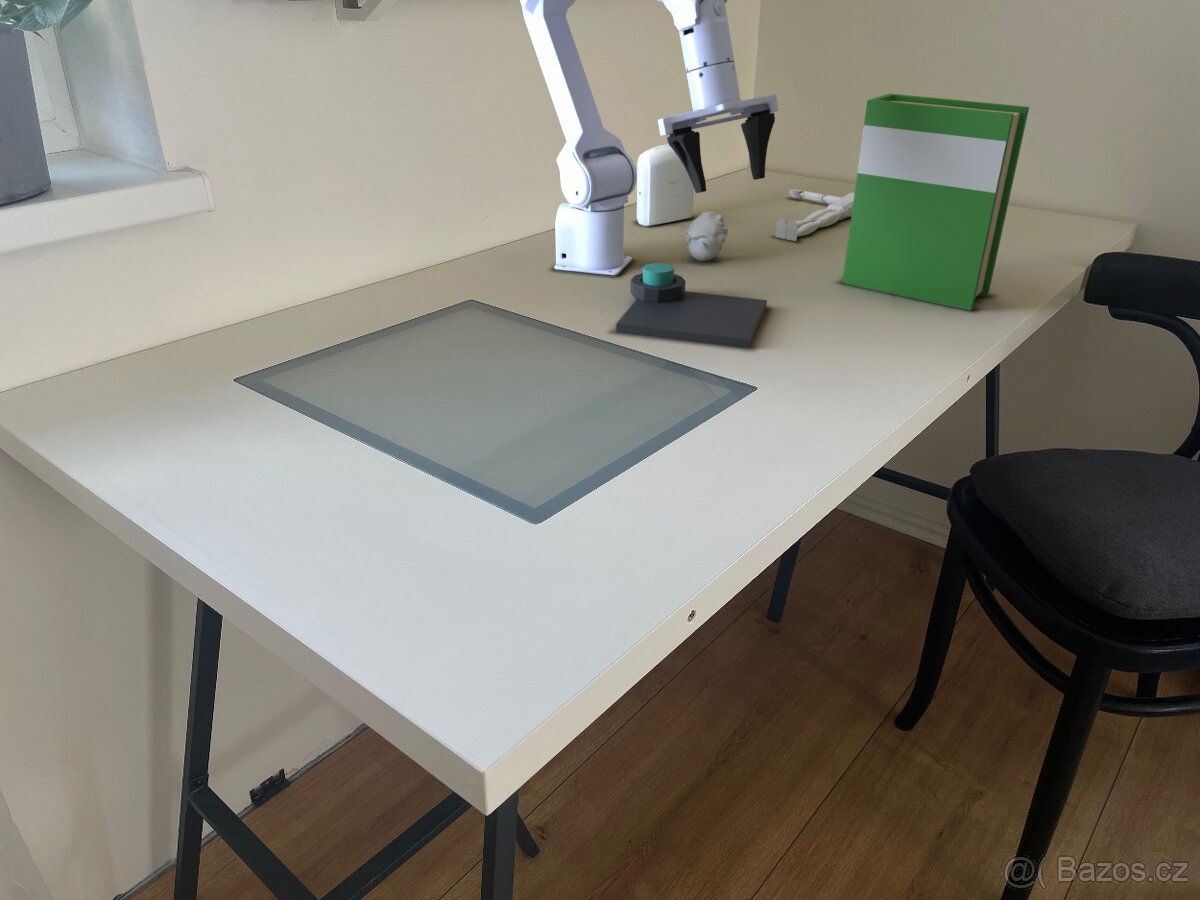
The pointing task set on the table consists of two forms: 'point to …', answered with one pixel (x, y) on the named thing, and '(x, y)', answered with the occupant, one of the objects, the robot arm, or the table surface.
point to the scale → (691, 314)
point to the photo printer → (662, 187)
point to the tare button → (658, 274)
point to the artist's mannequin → (816, 215)
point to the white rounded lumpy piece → (706, 235)
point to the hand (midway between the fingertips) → (730, 185)
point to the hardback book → (932, 196)
